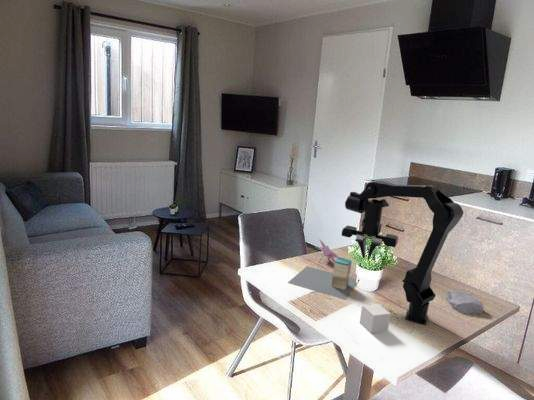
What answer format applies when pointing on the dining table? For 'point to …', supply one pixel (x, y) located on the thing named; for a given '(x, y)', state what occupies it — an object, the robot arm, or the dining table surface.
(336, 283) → the maple block
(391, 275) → the dining table surface
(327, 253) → the lily
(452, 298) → the stone block
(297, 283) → the rubber mat
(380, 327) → the light grey cube
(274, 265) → the dining table surface
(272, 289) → the dining table surface
